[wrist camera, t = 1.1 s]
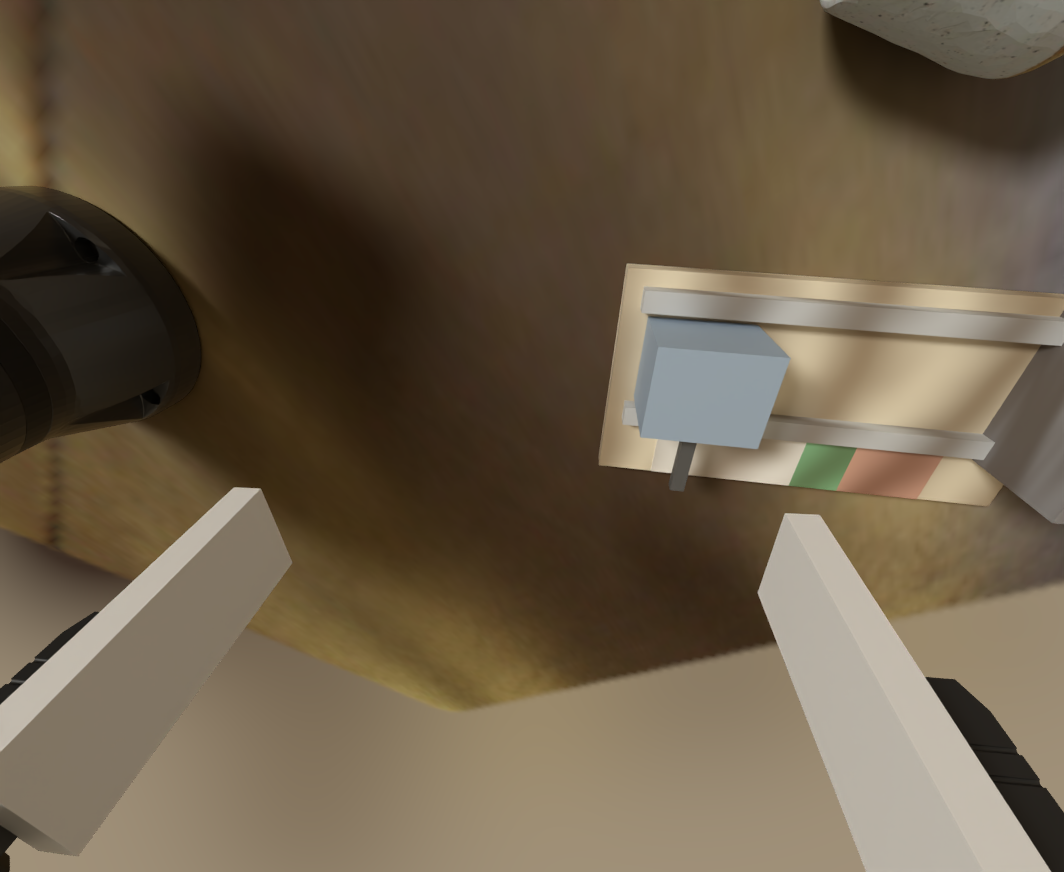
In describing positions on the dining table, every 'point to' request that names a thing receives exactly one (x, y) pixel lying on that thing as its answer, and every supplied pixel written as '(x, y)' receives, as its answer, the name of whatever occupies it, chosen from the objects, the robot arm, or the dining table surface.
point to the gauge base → (869, 385)
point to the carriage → (706, 386)
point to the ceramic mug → (965, 31)
